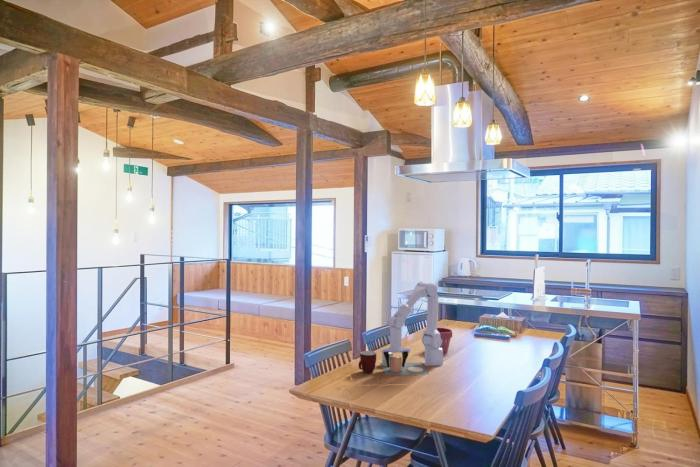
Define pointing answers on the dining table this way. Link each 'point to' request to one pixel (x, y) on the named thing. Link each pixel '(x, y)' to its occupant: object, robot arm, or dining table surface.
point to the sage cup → (385, 359)
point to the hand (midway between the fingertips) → (395, 366)
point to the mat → (405, 369)
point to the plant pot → (445, 338)
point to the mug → (367, 361)
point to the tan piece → (395, 363)
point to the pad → (415, 369)
